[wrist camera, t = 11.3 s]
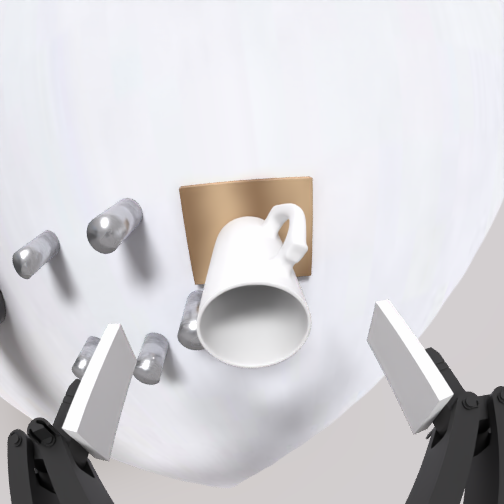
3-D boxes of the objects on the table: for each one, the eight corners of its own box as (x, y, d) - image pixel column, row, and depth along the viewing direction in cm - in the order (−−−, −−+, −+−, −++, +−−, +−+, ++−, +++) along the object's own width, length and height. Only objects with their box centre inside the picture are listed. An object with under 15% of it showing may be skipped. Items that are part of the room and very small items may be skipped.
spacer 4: (149, 350, 33) (138, 383, 28) (142, 332, 32) (129, 366, 26) (171, 350, 33) (162, 385, 28) (165, 332, 32) (154, 367, 26)
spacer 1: (45, 255, 27) (19, 279, 21) (38, 231, 25) (9, 253, 20) (62, 253, 27) (35, 278, 21) (55, 228, 25) (25, 250, 20)
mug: (261, 287, 28) (273, 378, 17) (201, 260, 27) (180, 347, 16) (314, 203, 25) (368, 263, 14) (250, 168, 23) (260, 203, 12)
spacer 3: (118, 230, 26) (92, 255, 21) (111, 200, 25) (82, 219, 19) (145, 226, 26) (123, 252, 21) (139, 196, 25) (114, 214, 19)
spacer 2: (92, 351, 34) (78, 380, 28) (84, 335, 32) (67, 364, 27) (109, 353, 34) (96, 383, 28) (101, 336, 32) (86, 367, 27)
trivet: (196, 279, 29) (195, 284, 28) (181, 186, 25) (179, 188, 24) (309, 270, 29) (311, 275, 28) (309, 176, 25) (312, 178, 24)
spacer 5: (189, 314, 31) (181, 350, 25) (184, 291, 29) (174, 326, 24) (216, 312, 31) (213, 349, 25) (213, 289, 29) (207, 325, 24)
